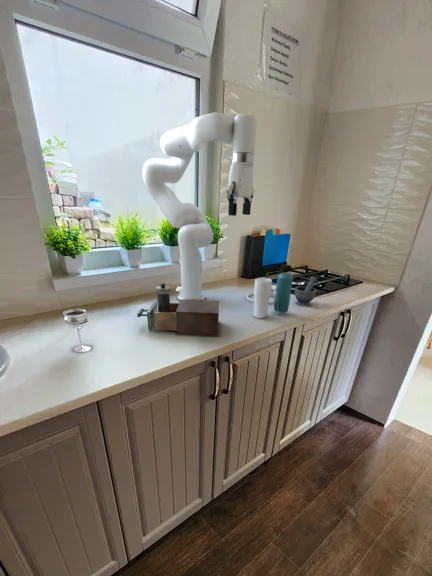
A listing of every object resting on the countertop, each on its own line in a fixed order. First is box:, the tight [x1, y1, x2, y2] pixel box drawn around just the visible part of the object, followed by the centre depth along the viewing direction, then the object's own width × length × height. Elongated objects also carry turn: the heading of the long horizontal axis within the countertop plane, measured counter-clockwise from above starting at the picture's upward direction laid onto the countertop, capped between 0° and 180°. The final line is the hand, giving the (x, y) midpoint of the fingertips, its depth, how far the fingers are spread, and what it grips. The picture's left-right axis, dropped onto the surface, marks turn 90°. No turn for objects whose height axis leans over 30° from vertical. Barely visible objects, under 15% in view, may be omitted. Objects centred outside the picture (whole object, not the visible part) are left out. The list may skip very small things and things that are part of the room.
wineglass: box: [62, 308, 91, 353], centre depth 99 cm, size 7×7×12 cm
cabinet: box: [176, 299, 220, 338], centre depth 118 cm, size 15×15×9 cm
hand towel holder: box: [245, 284, 277, 305], centre depth 156 cm, size 17×4×21 cm
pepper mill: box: [155, 282, 171, 312], centre depth 116 cm, size 5×5×14 cm
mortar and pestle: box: [294, 276, 317, 307], centre depth 148 cm, size 11×9×12 cm
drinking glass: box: [252, 277, 273, 319], centre depth 130 cm, size 7×7×15 cm
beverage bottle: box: [273, 264, 294, 314], centre depth 133 cm, size 6×7×20 cm
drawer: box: [136, 300, 180, 332], centre depth 118 cm, size 18×13×7 cm
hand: (239, 215), depth 121 cm, fingers open, 9 cm apart
